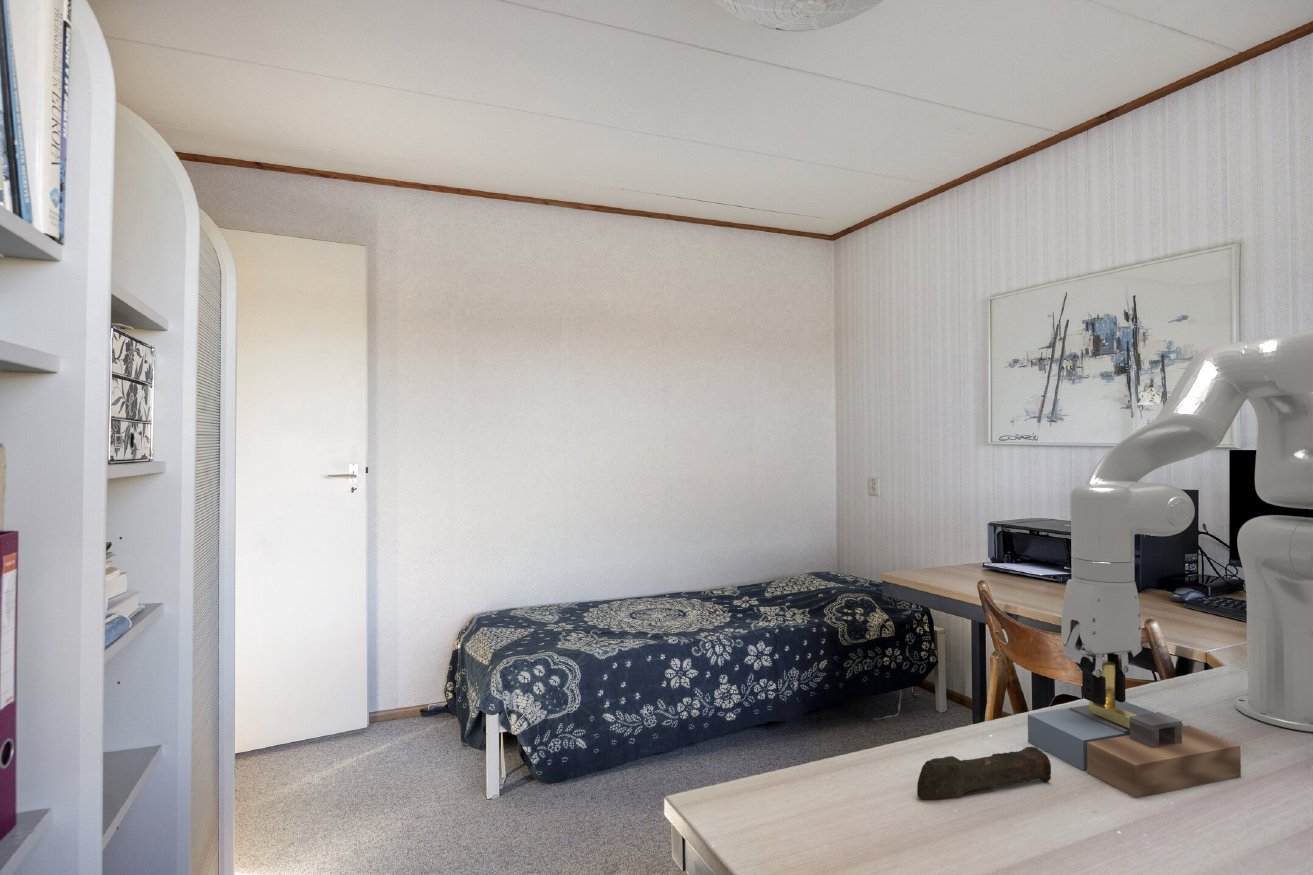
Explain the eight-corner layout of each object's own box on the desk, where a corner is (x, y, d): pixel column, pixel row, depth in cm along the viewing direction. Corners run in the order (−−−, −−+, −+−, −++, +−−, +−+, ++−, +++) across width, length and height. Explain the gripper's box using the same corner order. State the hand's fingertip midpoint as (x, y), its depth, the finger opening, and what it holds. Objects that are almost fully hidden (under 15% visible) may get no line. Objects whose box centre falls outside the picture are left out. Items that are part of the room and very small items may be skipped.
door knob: (1101, 709, 98) (1101, 658, 98) (1149, 728, 91) (1148, 674, 91) (1086, 711, 97) (1086, 660, 97) (1133, 731, 90) (1133, 676, 90)
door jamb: (1187, 754, 94) (1187, 704, 94) (1240, 776, 87) (1240, 723, 87) (1087, 772, 88) (1086, 719, 89) (1135, 797, 82) (1135, 741, 82)
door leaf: (1122, 726, 103) (1122, 698, 103) (1183, 752, 94) (1183, 721, 94) (1028, 741, 98) (1027, 711, 98) (1083, 770, 89) (1082, 737, 89)
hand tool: (1028, 771, 90) (1028, 736, 90) (1053, 785, 86) (1052, 749, 86) (904, 790, 85) (903, 753, 85) (924, 807, 81) (924, 768, 81)
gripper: (1121, 563, 102) (1123, 685, 102) (1034, 569, 97) (1036, 697, 97) (1171, 572, 95) (1173, 703, 95) (1080, 579, 90) (1082, 717, 90)
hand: (1103, 699), depth 96 cm, fingers closed on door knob, 2 cm apart
